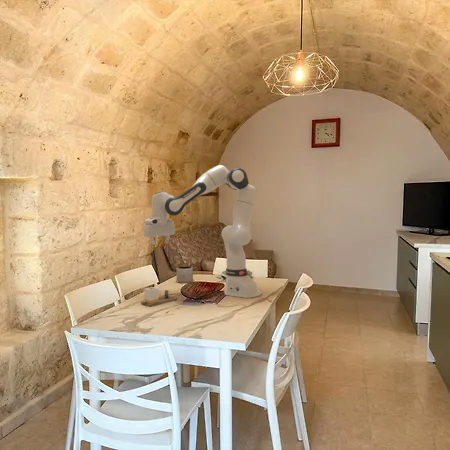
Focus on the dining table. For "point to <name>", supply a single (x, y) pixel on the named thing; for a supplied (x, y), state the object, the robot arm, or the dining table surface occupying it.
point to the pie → (226, 275)
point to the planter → (184, 274)
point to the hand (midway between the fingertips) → (160, 243)
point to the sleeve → (151, 295)
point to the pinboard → (161, 300)
